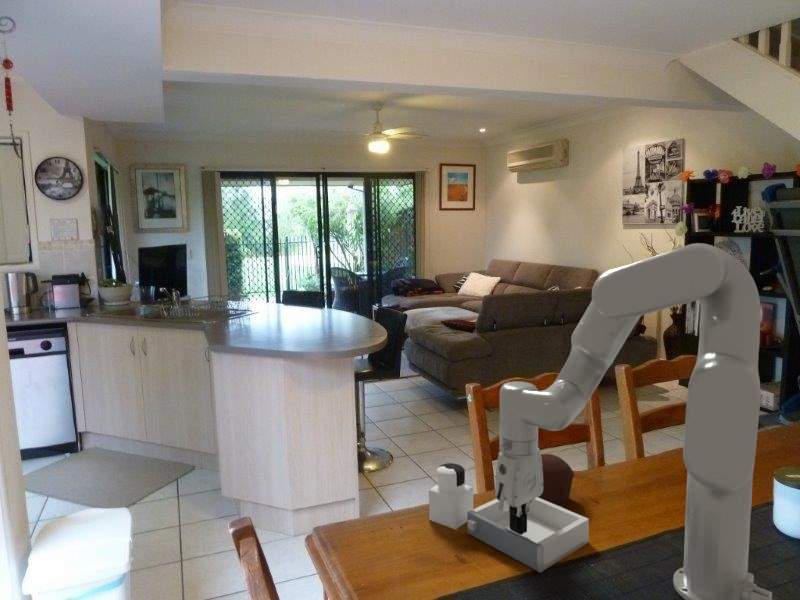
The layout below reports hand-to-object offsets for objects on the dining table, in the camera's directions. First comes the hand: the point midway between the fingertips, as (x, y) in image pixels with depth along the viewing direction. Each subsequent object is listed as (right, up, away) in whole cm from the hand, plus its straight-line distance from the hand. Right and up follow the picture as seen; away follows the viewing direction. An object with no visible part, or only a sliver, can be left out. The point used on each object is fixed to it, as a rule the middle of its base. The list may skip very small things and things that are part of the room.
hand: (518, 530), depth 115 cm
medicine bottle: (-13, -1, +9) cm, 16 cm away
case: (+2, -2, 0) cm, 3 cm away
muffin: (+11, 0, +18) cm, 21 cm away
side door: (-4, -2, -5) cm, 7 cm away
